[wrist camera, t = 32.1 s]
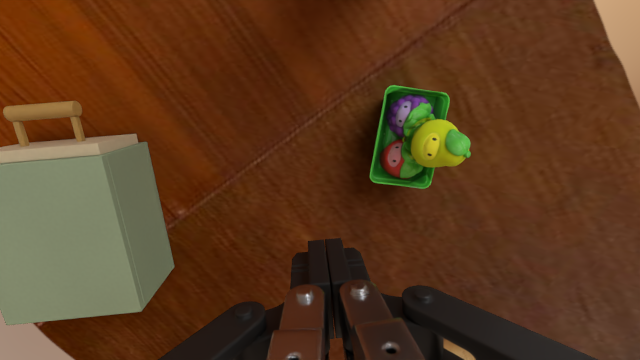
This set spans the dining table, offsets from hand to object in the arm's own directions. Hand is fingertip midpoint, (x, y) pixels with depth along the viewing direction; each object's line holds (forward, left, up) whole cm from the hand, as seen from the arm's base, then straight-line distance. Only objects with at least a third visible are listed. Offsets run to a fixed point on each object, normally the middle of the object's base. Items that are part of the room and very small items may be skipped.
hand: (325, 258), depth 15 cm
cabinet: (+6, -28, -29) cm, 41 cm away
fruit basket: (-1, +12, -29) cm, 32 cm away
